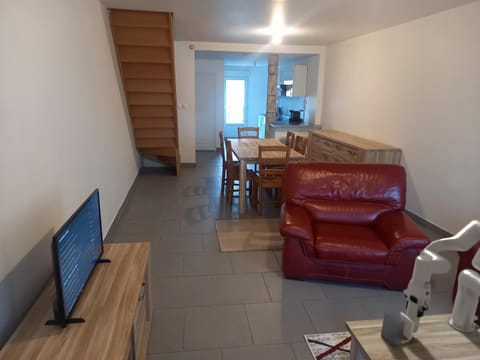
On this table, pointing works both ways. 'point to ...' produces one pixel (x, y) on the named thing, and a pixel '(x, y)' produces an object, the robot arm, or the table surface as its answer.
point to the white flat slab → (407, 326)
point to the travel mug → (413, 312)
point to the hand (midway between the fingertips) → (414, 312)
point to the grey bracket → (394, 330)
